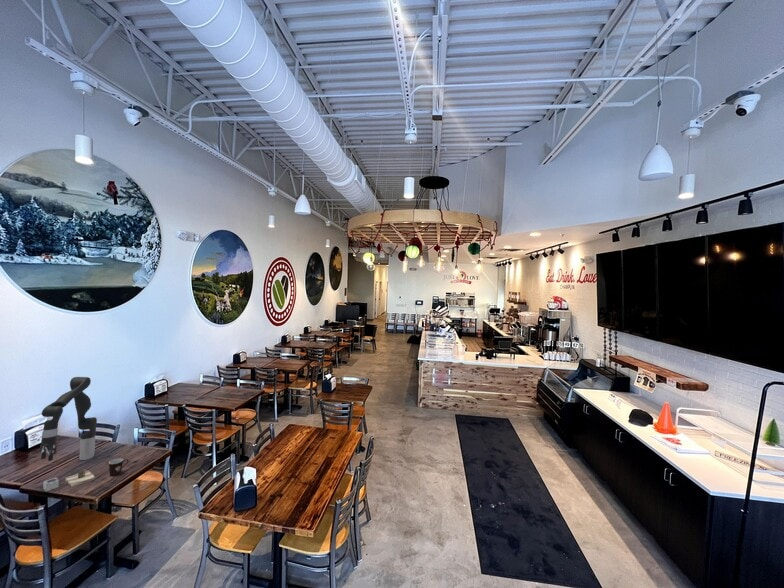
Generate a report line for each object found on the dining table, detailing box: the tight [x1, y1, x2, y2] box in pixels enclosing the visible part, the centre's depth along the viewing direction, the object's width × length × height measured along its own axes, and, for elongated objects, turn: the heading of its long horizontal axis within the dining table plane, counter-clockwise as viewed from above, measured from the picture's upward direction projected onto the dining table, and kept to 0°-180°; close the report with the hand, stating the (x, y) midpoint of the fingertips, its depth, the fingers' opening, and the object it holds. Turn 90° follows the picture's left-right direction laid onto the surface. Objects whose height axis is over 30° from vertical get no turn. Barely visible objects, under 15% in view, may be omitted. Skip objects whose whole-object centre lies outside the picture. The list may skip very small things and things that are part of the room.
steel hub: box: [42, 477, 60, 492], centre depth 231 cm, size 6×6×5 cm
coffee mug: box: [108, 458, 129, 478], centre depth 252 cm, size 12×9×10 cm
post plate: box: [64, 468, 96, 488], centre depth 243 cm, size 16×13×6 cm
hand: (46, 459), depth 228 cm, fingers open, 8 cm apart
